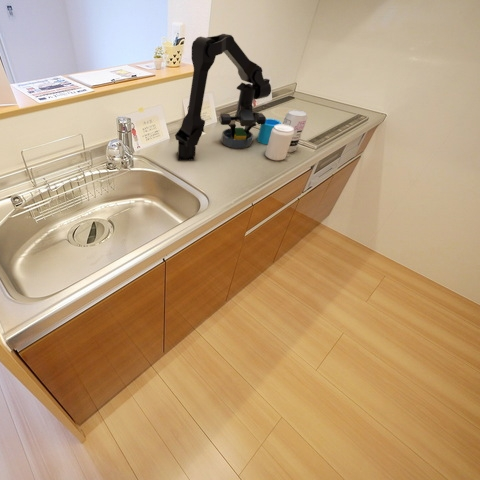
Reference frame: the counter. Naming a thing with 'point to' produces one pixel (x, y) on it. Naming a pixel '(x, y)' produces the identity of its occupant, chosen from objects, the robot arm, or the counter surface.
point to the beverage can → (279, 142)
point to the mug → (266, 130)
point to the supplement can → (295, 126)
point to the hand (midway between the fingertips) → (238, 138)
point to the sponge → (240, 134)
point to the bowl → (235, 140)
